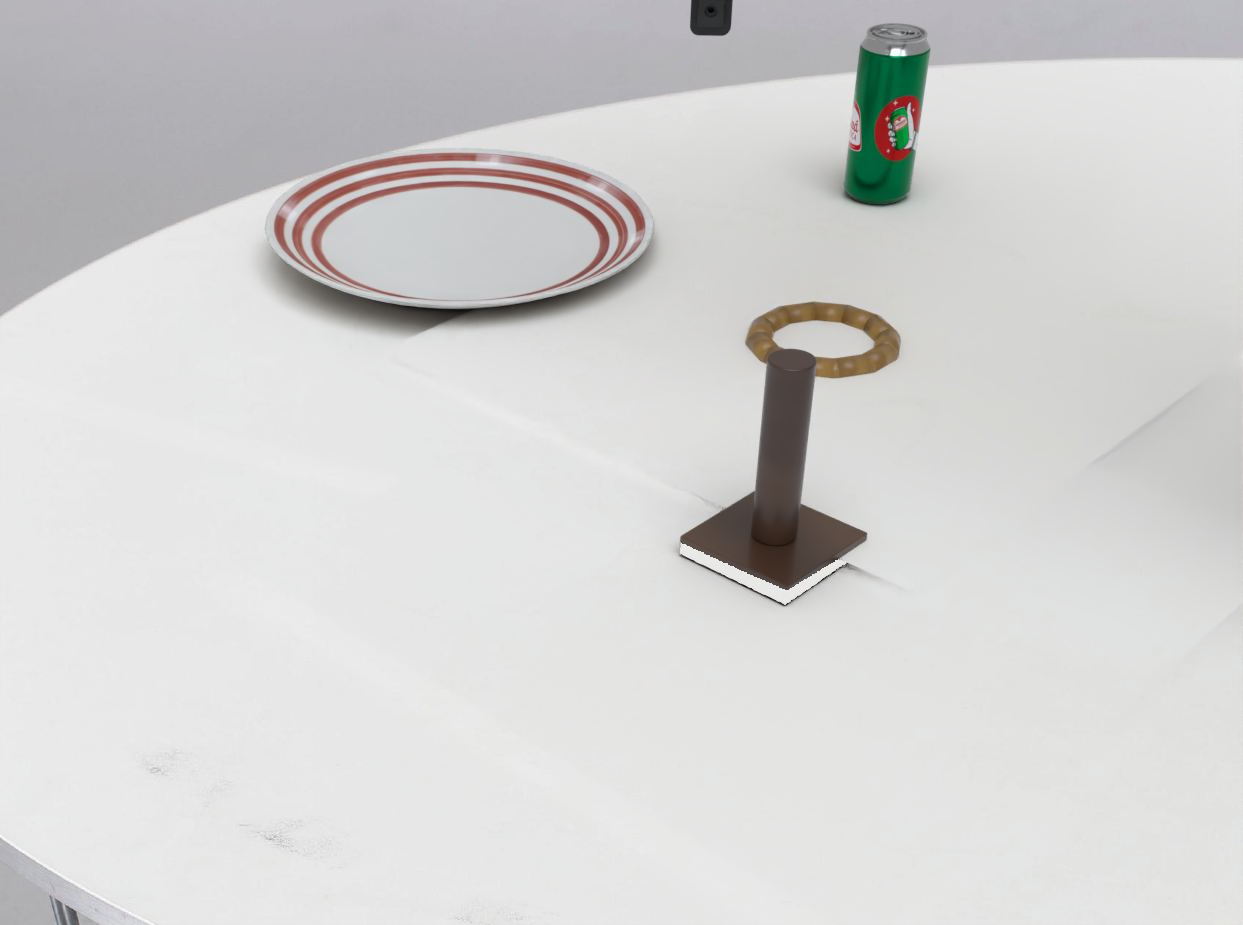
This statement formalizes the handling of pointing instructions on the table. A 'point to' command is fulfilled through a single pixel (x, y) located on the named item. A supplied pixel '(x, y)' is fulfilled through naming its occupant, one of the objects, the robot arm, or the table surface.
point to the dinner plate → (459, 227)
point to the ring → (868, 322)
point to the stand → (779, 491)
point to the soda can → (886, 113)
